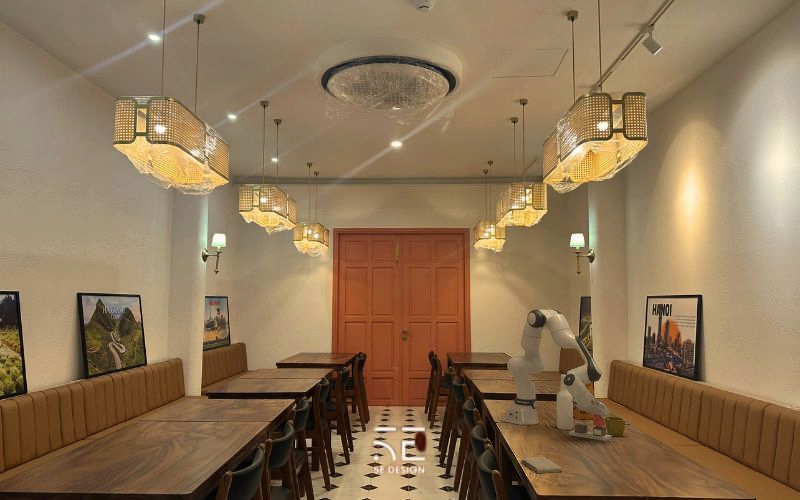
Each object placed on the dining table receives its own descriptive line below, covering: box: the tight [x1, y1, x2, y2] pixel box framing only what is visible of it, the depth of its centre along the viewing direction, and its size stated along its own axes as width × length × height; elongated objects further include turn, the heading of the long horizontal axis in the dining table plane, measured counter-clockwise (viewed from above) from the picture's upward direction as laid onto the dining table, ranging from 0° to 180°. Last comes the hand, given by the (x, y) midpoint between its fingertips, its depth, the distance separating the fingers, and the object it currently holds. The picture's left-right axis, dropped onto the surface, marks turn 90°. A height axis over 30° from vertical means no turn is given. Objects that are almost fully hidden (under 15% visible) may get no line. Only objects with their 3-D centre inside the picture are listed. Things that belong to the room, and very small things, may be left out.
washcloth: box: [520, 456, 563, 474], centre depth 242 cm, size 12×18×3 cm, turn 13°
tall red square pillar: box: [592, 413, 606, 427], centre depth 296 cm, size 4×4×8 cm
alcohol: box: [556, 374, 574, 431], centre depth 318 cm, size 9×9×30 cm
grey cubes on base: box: [568, 422, 613, 442], centre depth 298 cm, size 20×8×6 cm, turn 51°
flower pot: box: [605, 416, 626, 437], centre depth 302 cm, size 9×9×9 cm
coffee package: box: [573, 382, 595, 421], centre depth 347 cm, size 10×12×22 cm
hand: (599, 417), depth 296 cm, fingers closed on tall red square pillar, 4 cm apart
